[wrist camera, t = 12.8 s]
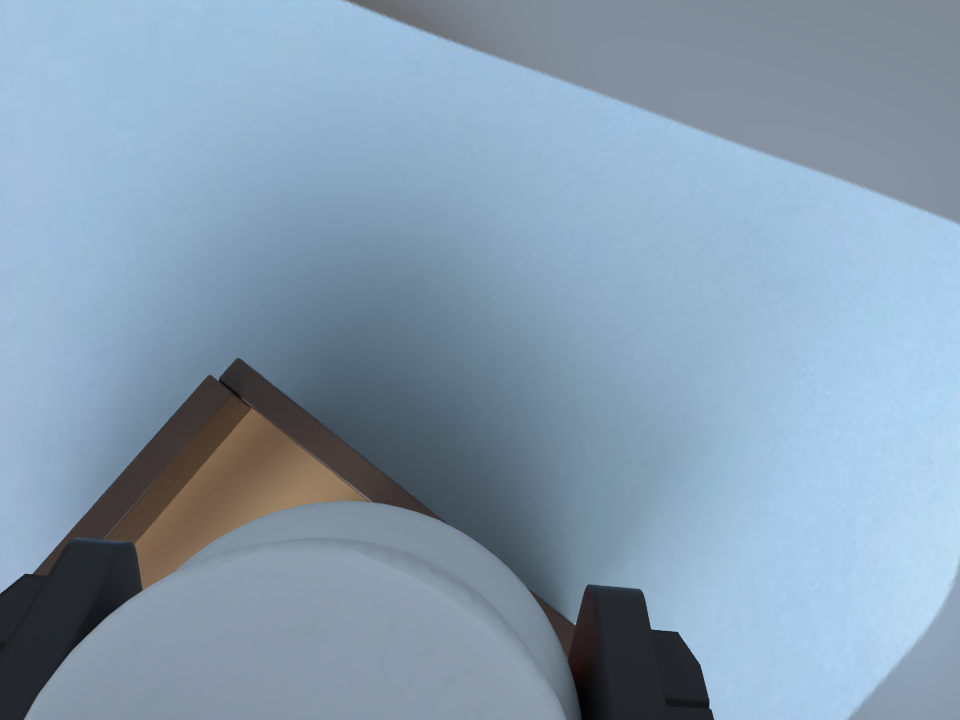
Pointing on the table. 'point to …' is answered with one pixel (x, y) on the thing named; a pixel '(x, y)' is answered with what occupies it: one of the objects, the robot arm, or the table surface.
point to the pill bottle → (323, 630)
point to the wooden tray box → (235, 478)
